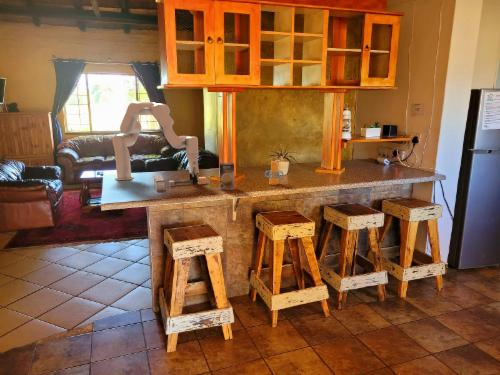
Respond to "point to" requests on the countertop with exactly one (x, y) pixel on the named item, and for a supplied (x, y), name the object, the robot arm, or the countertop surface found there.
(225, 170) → the coffee box
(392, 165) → the countertop surface
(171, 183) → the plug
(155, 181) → the motor housing
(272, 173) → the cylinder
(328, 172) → the countertop surface
